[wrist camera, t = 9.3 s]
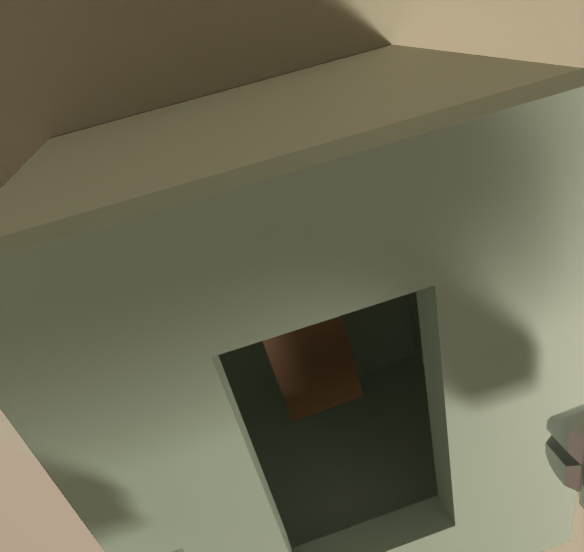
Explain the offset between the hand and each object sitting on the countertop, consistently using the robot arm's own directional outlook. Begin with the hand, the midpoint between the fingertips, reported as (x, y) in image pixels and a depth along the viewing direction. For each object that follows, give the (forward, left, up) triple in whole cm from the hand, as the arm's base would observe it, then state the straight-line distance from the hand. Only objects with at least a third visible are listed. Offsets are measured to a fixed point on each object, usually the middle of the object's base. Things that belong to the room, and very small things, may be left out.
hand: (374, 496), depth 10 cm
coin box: (0, 0, -11) cm, 11 cm away
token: (0, 0, -10) cm, 10 cm away
